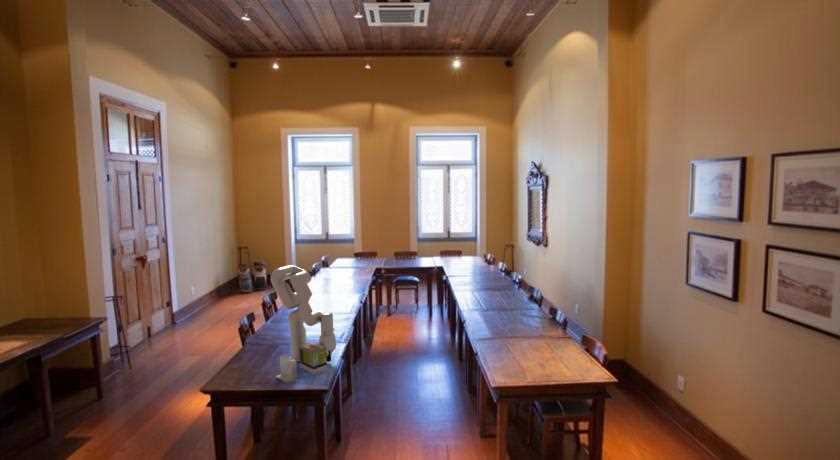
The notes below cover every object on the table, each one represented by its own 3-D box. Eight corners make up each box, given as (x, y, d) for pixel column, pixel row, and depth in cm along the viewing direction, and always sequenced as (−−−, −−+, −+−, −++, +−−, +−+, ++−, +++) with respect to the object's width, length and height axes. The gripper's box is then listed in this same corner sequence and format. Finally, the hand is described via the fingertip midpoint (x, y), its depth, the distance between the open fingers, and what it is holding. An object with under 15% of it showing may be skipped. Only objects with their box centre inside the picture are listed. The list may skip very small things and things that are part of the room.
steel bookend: (276, 378, 264) (275, 358, 262) (285, 375, 268) (284, 355, 267) (287, 384, 256) (286, 363, 255) (297, 380, 260) (296, 360, 259)
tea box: (327, 370, 274) (326, 346, 272) (313, 375, 267) (311, 351, 265) (314, 363, 285) (313, 340, 283) (299, 368, 278) (298, 344, 276)
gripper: (333, 328, 290) (334, 356, 292) (313, 334, 279) (314, 363, 281) (340, 330, 285) (341, 358, 287) (321, 337, 274) (322, 366, 276)
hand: (328, 361), depth 284 cm, fingers closed
